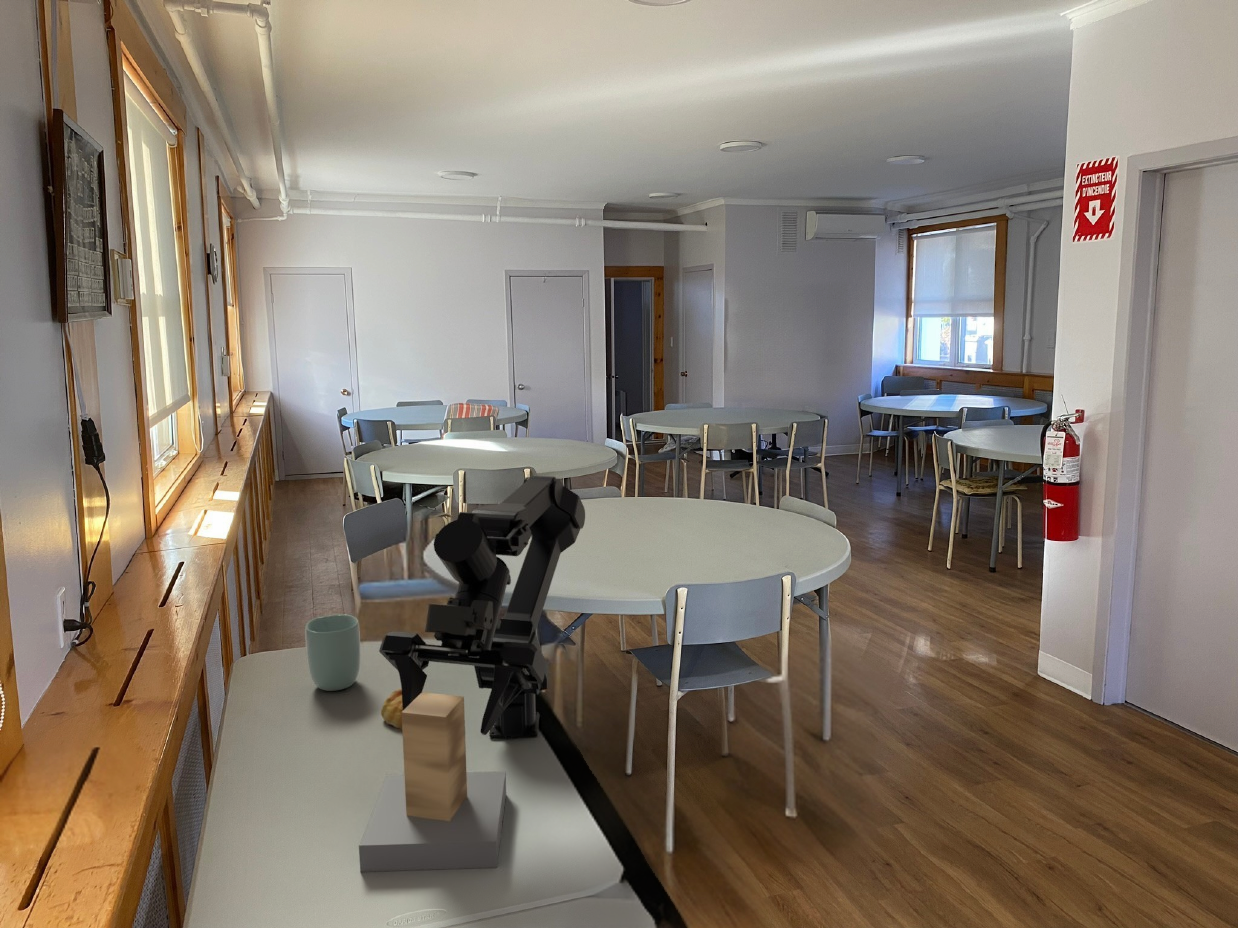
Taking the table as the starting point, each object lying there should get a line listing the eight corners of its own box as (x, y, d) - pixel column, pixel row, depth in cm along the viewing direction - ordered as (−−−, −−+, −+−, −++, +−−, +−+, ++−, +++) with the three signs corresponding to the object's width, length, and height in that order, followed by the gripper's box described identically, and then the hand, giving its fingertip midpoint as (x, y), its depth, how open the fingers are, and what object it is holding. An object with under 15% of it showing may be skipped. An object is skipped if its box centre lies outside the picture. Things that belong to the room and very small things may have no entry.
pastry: (459, 720, 127) (458, 695, 126) (426, 741, 121) (424, 714, 121) (409, 705, 132) (408, 680, 131) (375, 724, 126) (373, 698, 125)
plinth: (387, 797, 107) (386, 774, 107) (506, 794, 108) (505, 771, 107) (360, 871, 94) (358, 845, 93) (496, 867, 94) (496, 841, 94)
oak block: (426, 790, 103) (421, 692, 101) (467, 796, 102) (463, 696, 100) (406, 815, 98) (401, 712, 96) (449, 820, 97) (445, 716, 95)
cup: (308, 679, 140) (303, 617, 138) (360, 671, 143) (356, 611, 141) (310, 699, 133) (305, 635, 131) (364, 691, 136) (361, 628, 134)
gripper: (382, 565, 105) (338, 695, 97) (535, 576, 101) (504, 713, 92) (415, 606, 114) (378, 729, 106) (557, 618, 110) (530, 746, 102)
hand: (444, 729), depth 101 cm, fingers open, 9 cm apart
